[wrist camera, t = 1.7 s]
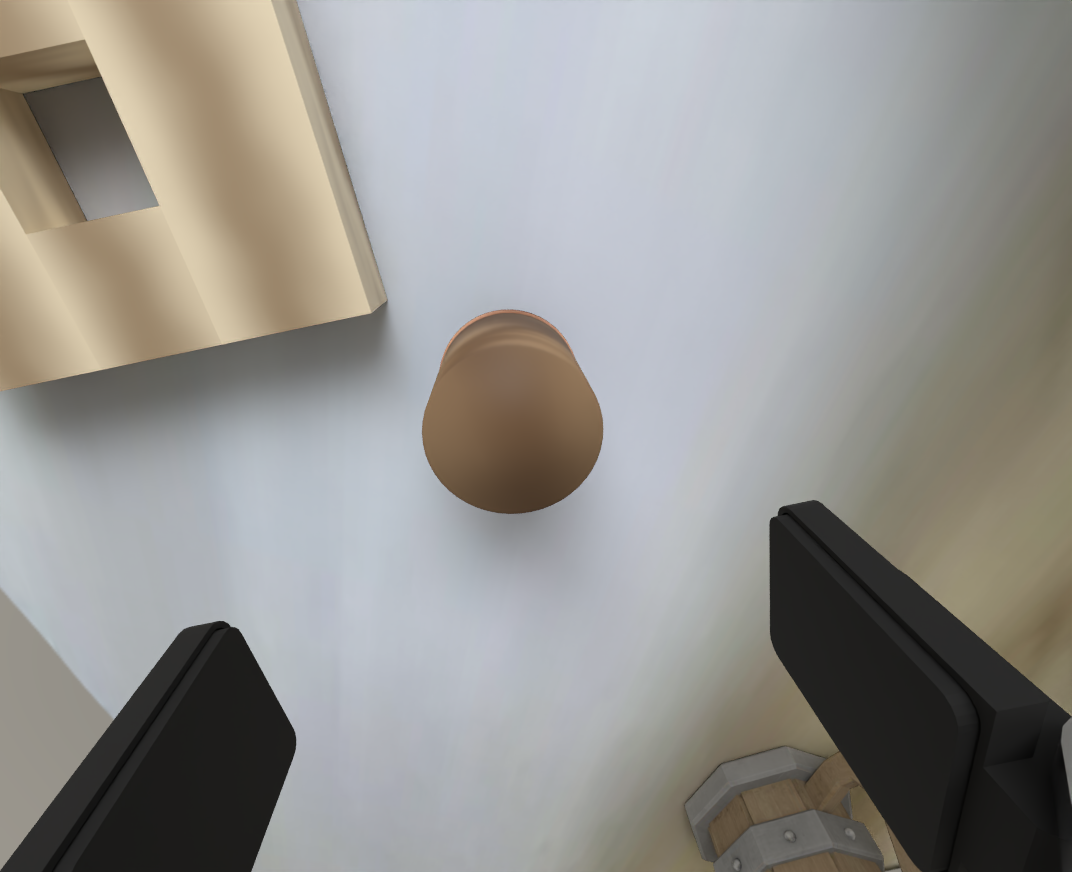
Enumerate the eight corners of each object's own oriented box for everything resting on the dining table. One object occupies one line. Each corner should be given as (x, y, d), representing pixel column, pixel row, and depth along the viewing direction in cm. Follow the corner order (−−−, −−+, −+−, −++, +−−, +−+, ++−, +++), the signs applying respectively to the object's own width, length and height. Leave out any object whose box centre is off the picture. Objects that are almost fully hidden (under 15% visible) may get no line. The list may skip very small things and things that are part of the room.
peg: (555, 285, 25) (590, 327, 16) (575, 401, 28) (615, 495, 18) (432, 311, 25) (396, 367, 16) (463, 424, 28) (447, 530, 18)
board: (249, -153, 18) (197, -230, 15) (387, 300, 25) (371, 313, 22) (-240, -45, 18) (-394, -98, 15) (23, 376, 25) (-46, 400, 22)
